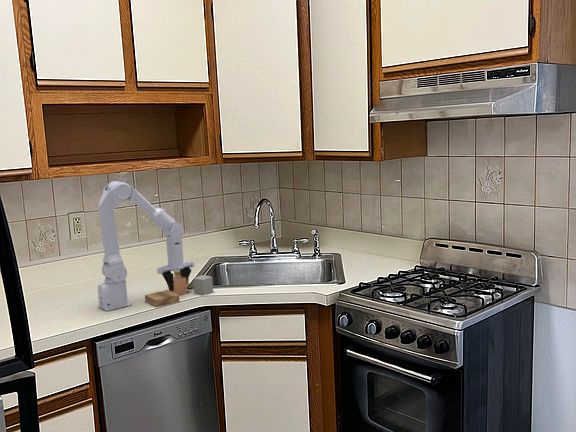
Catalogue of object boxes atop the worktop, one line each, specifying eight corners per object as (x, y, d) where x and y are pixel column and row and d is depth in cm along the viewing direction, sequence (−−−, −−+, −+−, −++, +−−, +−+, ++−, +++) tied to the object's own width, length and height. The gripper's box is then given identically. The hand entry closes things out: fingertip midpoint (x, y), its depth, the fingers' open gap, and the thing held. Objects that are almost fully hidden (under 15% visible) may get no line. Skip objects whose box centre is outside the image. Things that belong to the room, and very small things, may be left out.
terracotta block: (175, 295, 215) (174, 280, 214) (169, 293, 219) (167, 277, 218) (187, 293, 218) (186, 277, 217) (180, 290, 222) (179, 275, 221)
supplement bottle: (191, 285, 229) (190, 261, 228) (182, 288, 225) (180, 264, 223) (181, 283, 232) (180, 260, 231) (172, 286, 228) (170, 263, 226)
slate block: (203, 295, 214) (202, 279, 213) (194, 293, 217) (193, 278, 216) (213, 292, 218) (212, 276, 217) (203, 290, 221) (202, 275, 220)
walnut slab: (156, 308, 202) (155, 300, 201) (145, 303, 209) (144, 295, 208) (179, 302, 207) (179, 294, 207) (168, 297, 214) (167, 289, 214)
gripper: (162, 258, 209) (165, 295, 211) (197, 251, 218) (199, 286, 220) (153, 255, 214) (156, 291, 216) (188, 249, 223) (190, 283, 225)
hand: (177, 288), depth 218 cm, fingers closed on terracotta block, 5 cm apart
